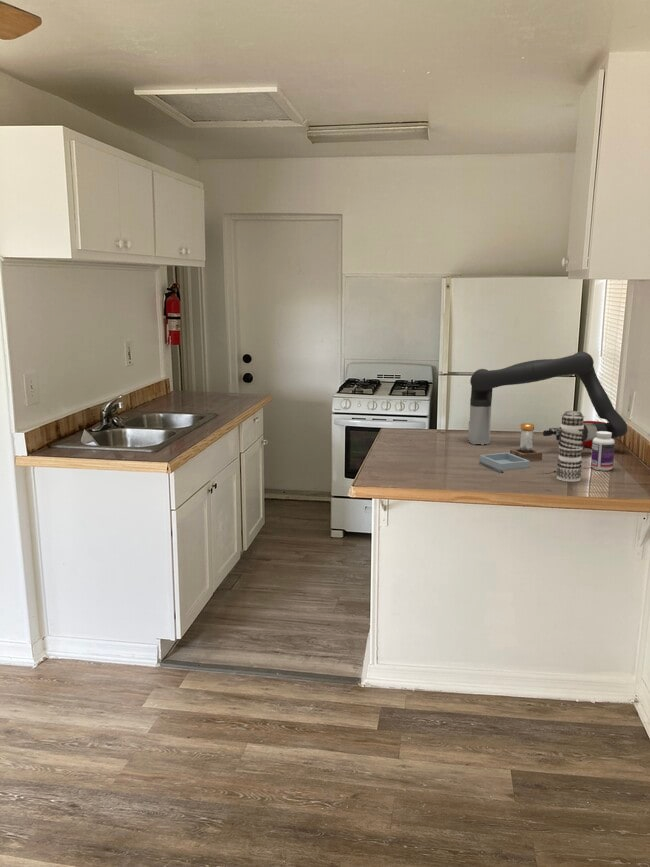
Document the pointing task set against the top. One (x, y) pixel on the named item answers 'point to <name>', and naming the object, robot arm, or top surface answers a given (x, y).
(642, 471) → the top surface
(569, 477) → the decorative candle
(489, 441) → the robot arm
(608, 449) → the pill bottle
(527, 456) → the square wooden frame
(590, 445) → the ceramic cup
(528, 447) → the glass jar
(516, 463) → the tray
